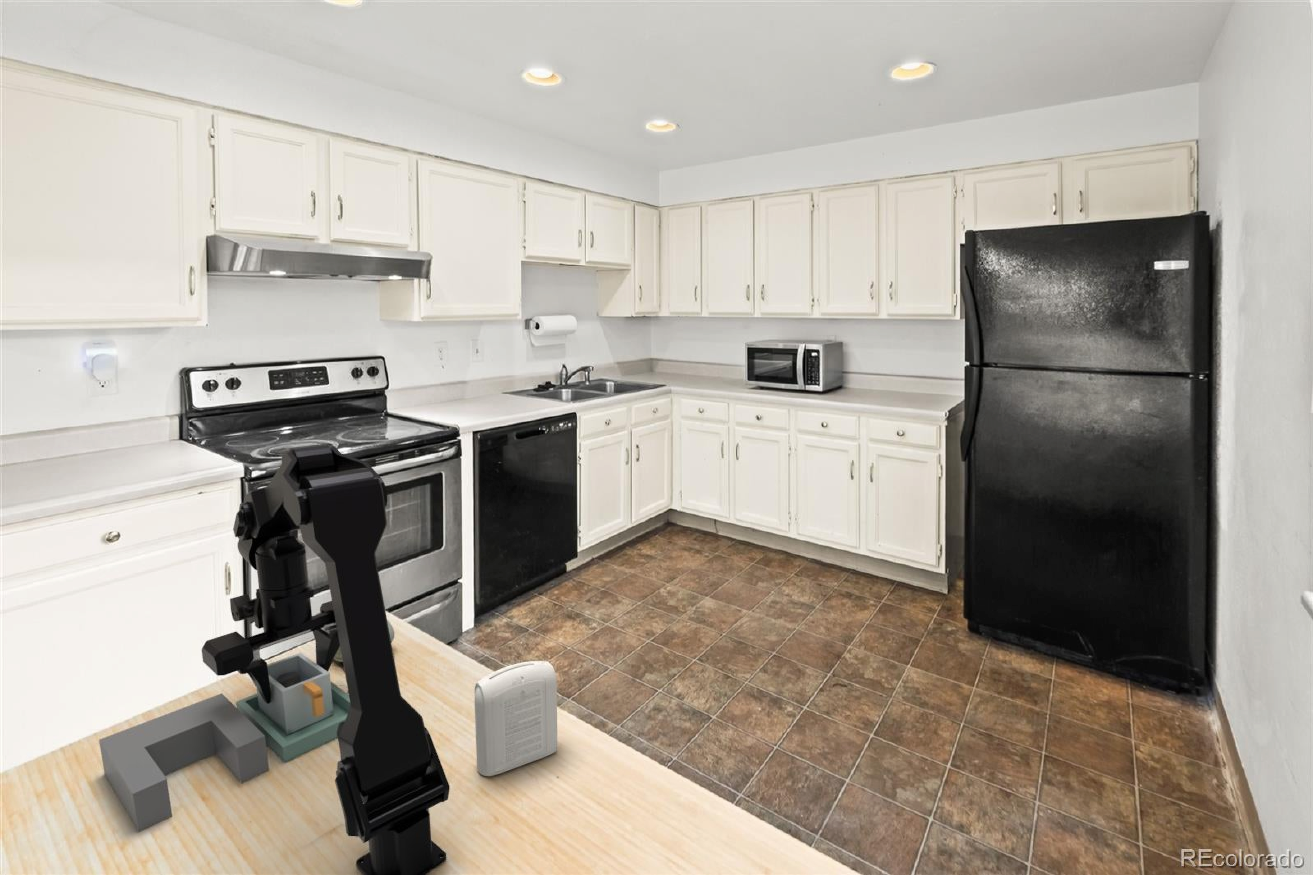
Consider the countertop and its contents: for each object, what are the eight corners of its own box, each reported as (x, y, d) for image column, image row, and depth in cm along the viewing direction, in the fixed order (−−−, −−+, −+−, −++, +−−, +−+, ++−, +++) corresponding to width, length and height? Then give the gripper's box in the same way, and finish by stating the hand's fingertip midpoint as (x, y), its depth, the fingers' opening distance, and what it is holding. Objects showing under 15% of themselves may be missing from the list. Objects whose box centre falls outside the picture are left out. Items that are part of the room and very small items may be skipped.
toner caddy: (344, 723, 90) (341, 681, 89) (297, 744, 85) (293, 700, 84) (304, 691, 97) (300, 652, 96) (258, 709, 93) (254, 669, 92)
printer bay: (269, 773, 81) (265, 735, 80) (139, 835, 71) (132, 793, 70) (226, 727, 90) (221, 693, 89) (105, 777, 80) (98, 739, 79)
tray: (368, 725, 90) (367, 708, 90) (285, 766, 82) (283, 747, 82) (317, 685, 100) (316, 670, 99) (238, 718, 92) (236, 701, 91)
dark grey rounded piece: (306, 703, 93) (303, 675, 93) (284, 712, 91) (281, 684, 90) (296, 696, 95) (293, 670, 94) (275, 705, 93) (272, 678, 92)
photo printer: (548, 735, 89) (546, 648, 86) (563, 752, 85) (561, 662, 83) (472, 763, 83) (467, 671, 81) (484, 783, 80) (479, 687, 77)
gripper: (327, 549, 101) (336, 646, 103) (180, 588, 86) (195, 699, 89) (364, 567, 94) (372, 671, 96) (211, 612, 79) (226, 732, 82)
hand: (295, 691), depth 91 cm, fingers open, 7 cm apart
